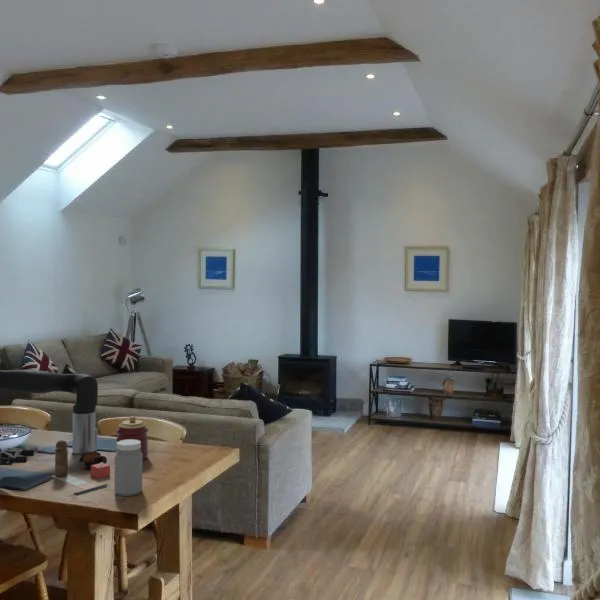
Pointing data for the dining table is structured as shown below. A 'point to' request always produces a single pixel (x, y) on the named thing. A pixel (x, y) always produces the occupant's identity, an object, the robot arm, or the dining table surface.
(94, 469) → the red die
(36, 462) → the dining table surface
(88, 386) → the robot arm
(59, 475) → the walnut pawn
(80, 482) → the game board
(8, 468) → the dining table surface
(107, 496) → the dining table surface
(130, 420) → the canister
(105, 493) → the dining table surface
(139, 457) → the jar
